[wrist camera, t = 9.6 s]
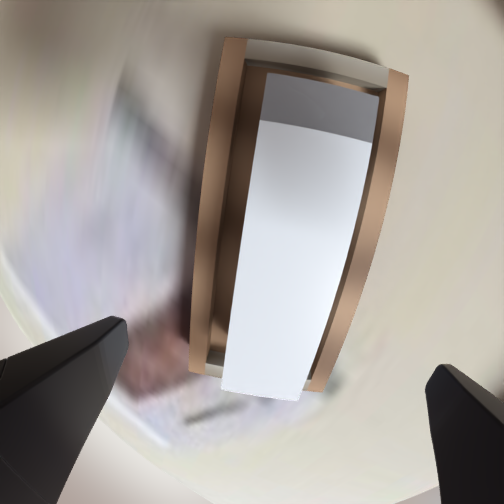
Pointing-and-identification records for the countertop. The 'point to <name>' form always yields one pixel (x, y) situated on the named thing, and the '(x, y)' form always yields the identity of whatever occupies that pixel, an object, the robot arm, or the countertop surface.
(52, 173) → the countertop surface
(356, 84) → the wooden tray
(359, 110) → the white tall block
